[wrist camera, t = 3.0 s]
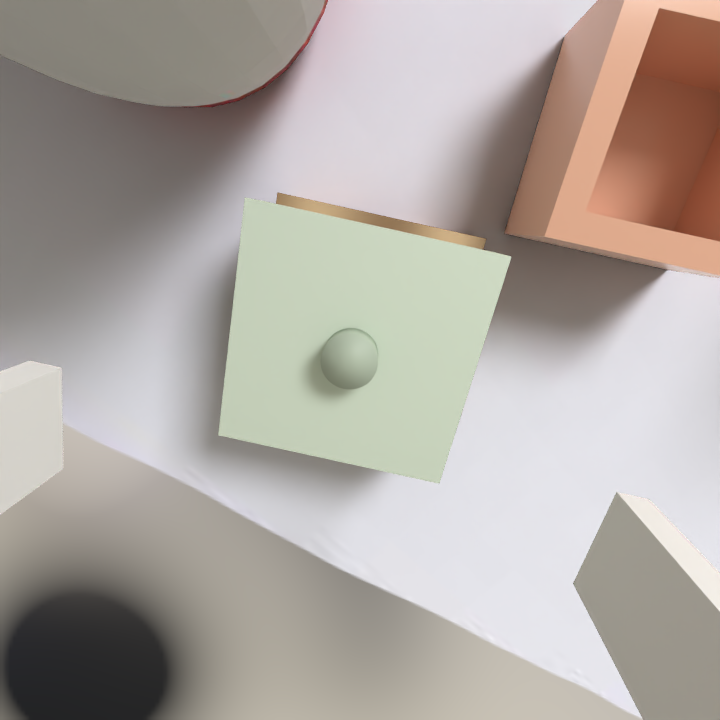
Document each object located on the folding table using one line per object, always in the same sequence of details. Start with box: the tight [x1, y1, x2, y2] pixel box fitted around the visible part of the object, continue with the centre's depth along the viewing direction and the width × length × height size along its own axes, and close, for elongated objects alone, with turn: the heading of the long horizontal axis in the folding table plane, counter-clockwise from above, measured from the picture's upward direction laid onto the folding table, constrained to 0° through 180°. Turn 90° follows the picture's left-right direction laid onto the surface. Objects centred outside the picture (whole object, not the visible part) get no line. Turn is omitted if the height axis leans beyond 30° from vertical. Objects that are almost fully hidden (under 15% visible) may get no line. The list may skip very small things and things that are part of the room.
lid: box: [218, 198, 511, 483], centre depth 19 cm, size 11×11×4 cm
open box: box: [504, 0, 720, 278], centre depth 18 cm, size 9×9×6 cm
